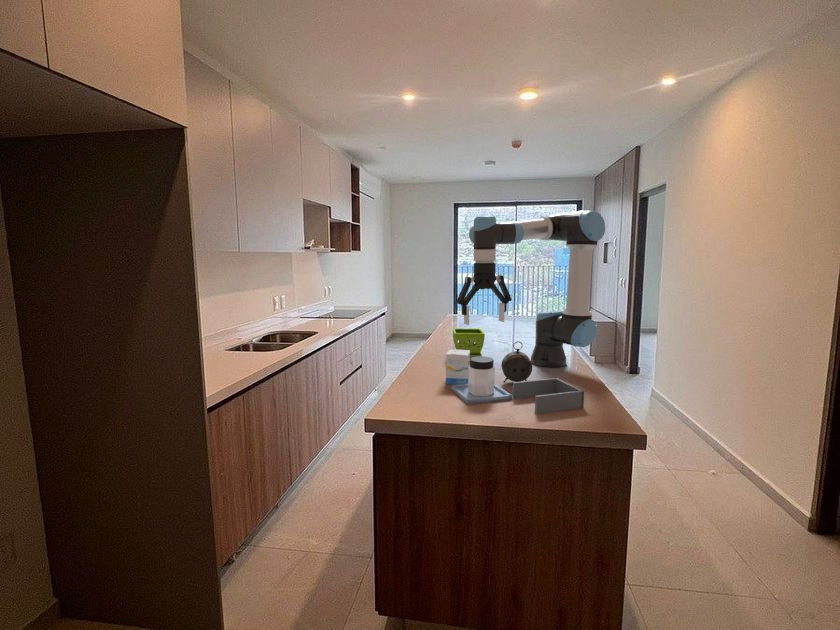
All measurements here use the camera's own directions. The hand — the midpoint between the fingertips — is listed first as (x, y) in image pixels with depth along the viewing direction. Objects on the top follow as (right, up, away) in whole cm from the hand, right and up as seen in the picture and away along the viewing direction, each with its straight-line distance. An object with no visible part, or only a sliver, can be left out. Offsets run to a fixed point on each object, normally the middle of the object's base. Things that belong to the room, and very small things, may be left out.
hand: (484, 322), depth 152 cm
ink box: (-8, -23, +13) cm, 28 cm away
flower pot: (0, -17, +49) cm, 52 cm away
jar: (-1, -25, -2) cm, 25 cm away
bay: (+19, -26, -10) cm, 34 cm away
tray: (-2, -25, -2) cm, 25 cm away
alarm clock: (+14, -23, +10) cm, 29 cm away
